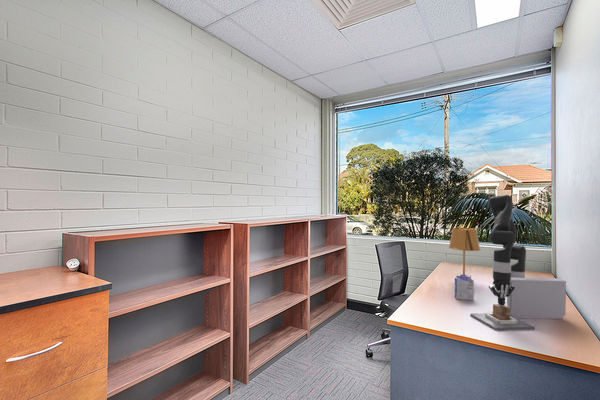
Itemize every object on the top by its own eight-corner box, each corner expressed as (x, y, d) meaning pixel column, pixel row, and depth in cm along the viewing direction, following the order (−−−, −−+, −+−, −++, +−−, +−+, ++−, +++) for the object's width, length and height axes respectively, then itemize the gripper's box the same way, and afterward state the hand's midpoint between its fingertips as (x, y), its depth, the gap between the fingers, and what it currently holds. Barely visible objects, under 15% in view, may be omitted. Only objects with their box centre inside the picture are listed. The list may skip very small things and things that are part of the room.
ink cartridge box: (470, 297, 188) (471, 274, 188) (474, 300, 183) (474, 277, 183) (454, 296, 190) (454, 273, 190) (456, 299, 185) (457, 276, 185)
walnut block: (501, 317, 153) (502, 304, 153) (509, 321, 148) (509, 307, 148) (492, 317, 152) (493, 304, 152) (500, 321, 147) (500, 307, 148)
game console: (504, 313, 162) (505, 276, 162) (556, 314, 161) (556, 278, 161) (512, 317, 157) (512, 279, 157) (565, 319, 156) (565, 281, 156)
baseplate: (505, 314, 160) (505, 309, 160) (534, 329, 142) (535, 323, 142) (470, 315, 158) (470, 310, 158) (496, 330, 140) (496, 324, 140)
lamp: (480, 281, 227) (481, 228, 227) (479, 288, 209) (480, 230, 209) (449, 277, 238) (450, 226, 238) (446, 283, 221) (447, 228, 221)
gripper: (508, 268, 155) (507, 302, 155) (484, 268, 153) (483, 302, 153) (520, 272, 147) (519, 307, 147) (495, 272, 146) (494, 307, 146)
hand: (501, 304), depth 150 cm, fingers closed
